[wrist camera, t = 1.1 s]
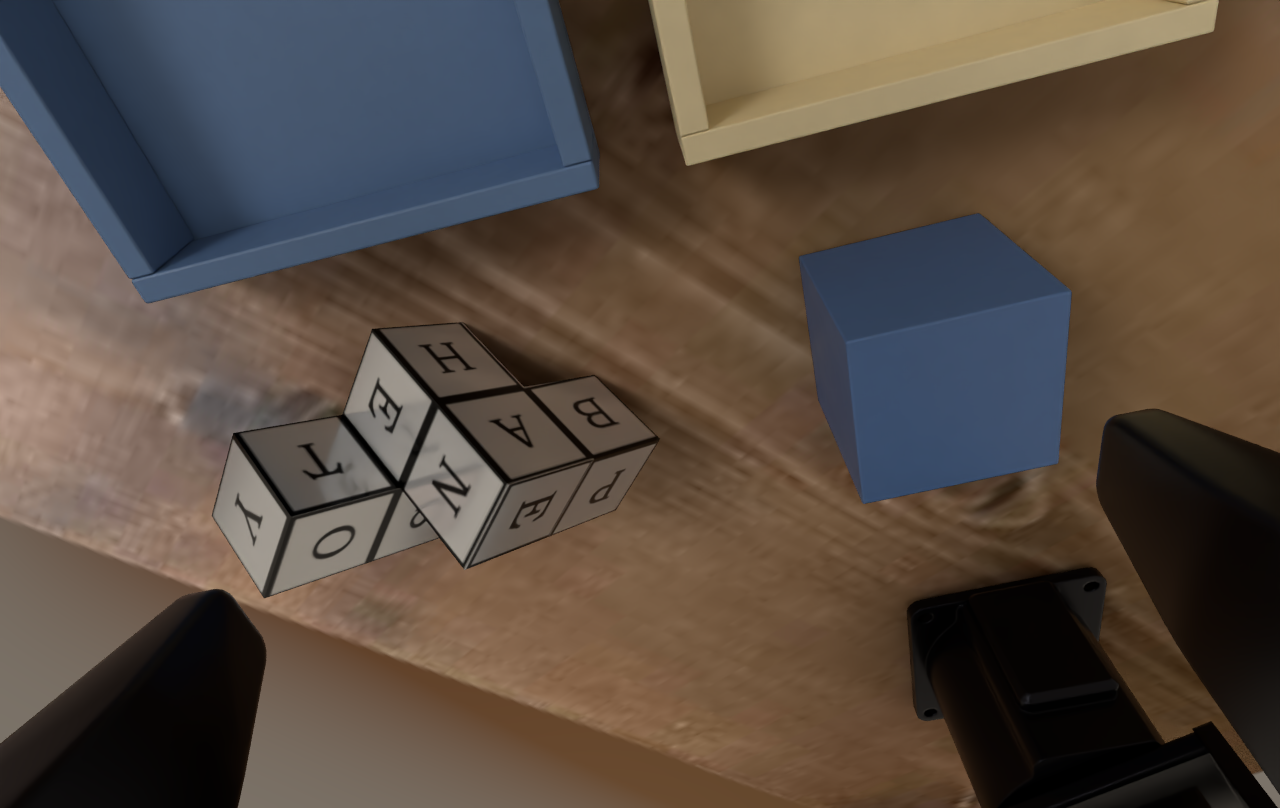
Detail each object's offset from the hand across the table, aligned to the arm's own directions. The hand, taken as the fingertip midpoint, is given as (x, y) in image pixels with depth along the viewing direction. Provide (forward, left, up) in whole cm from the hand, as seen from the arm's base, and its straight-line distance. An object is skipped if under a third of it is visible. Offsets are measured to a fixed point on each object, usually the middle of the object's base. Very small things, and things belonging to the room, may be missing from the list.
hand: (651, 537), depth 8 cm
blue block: (-5, -6, -12) cm, 15 cm away
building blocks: (-5, +6, -12) cm, 15 cm away
